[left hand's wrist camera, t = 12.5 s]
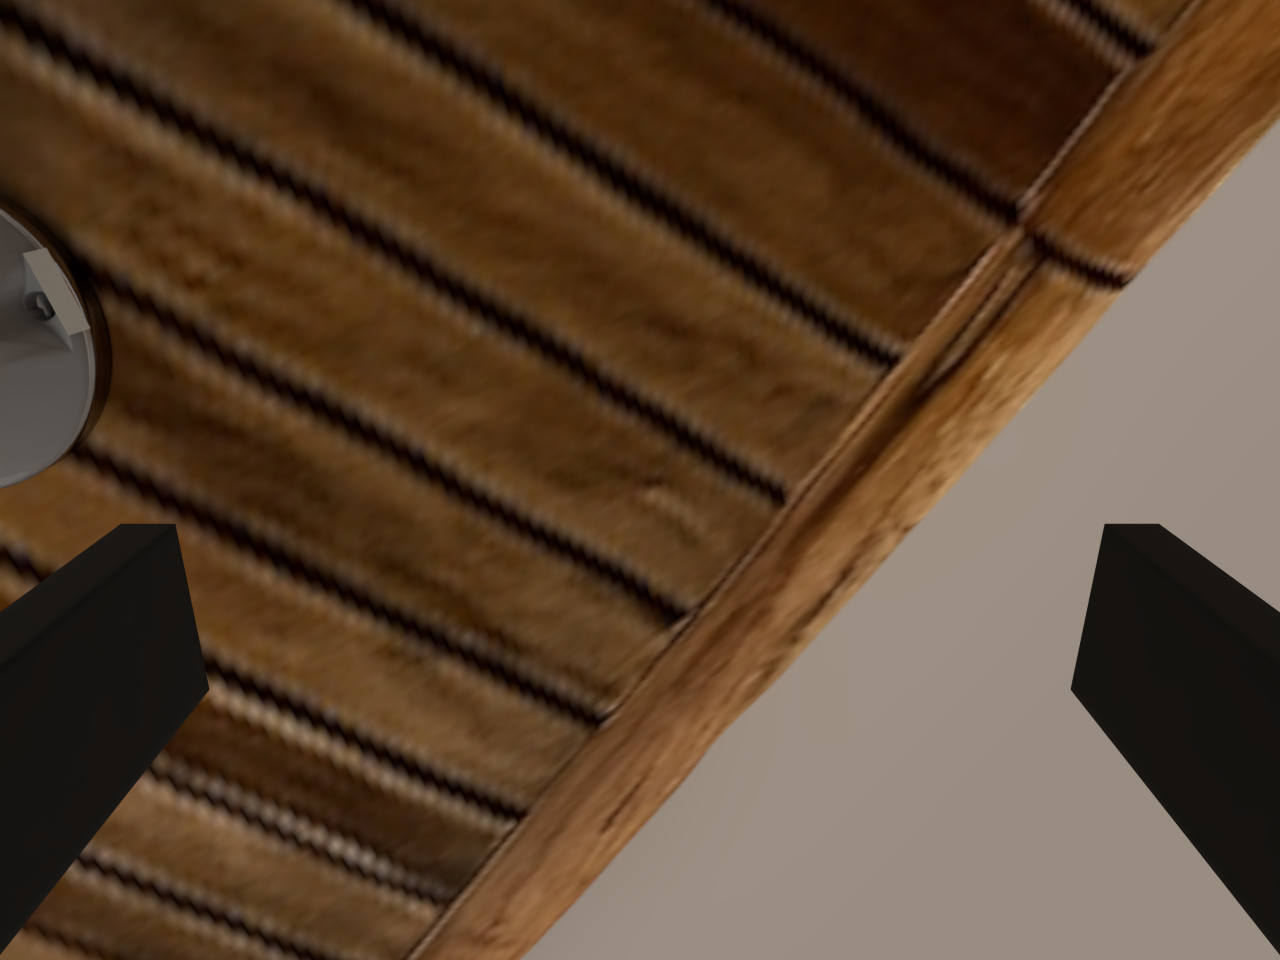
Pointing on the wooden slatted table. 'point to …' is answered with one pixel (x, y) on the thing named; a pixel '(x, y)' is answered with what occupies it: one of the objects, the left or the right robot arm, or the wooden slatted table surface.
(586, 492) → the wooden slatted table surface
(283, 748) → the wooden slatted table surface
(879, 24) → the wooden slatted table surface
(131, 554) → the left robot arm
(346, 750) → the wooden slatted table surface
